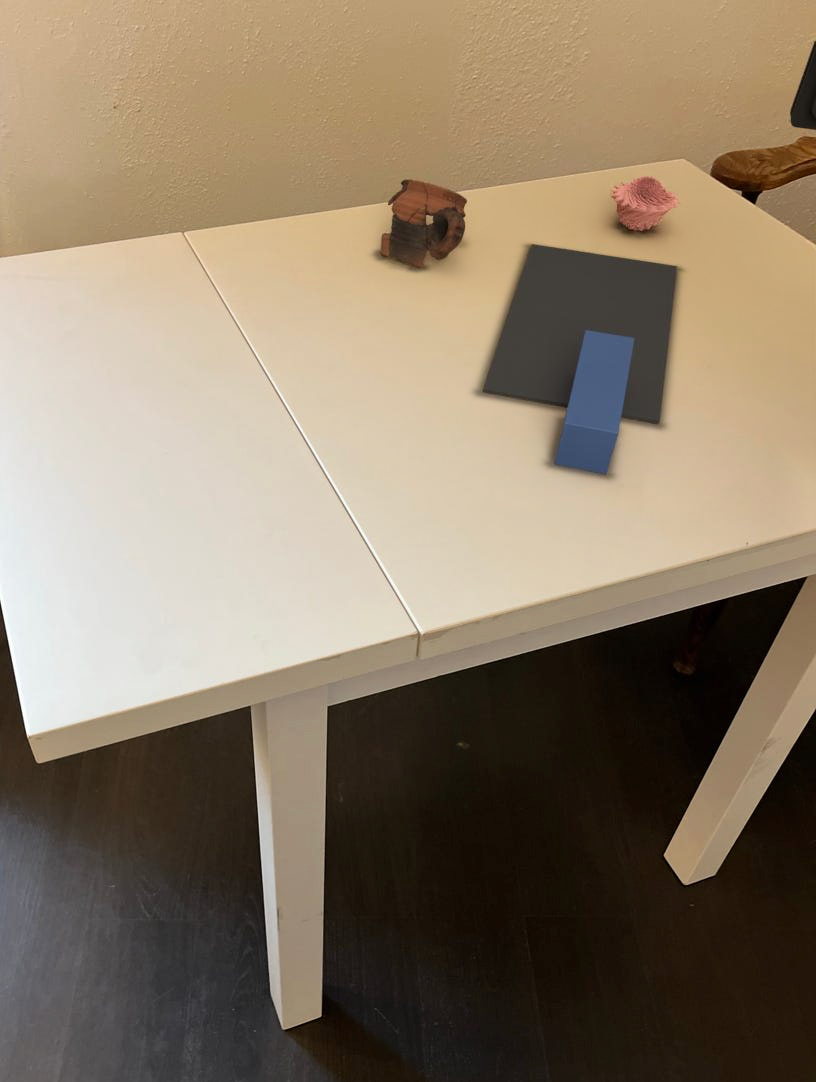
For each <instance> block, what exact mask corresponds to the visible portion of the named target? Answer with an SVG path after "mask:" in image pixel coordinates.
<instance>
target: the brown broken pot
mask: <svg viewBox="0 0 816 1082" xmlns="http://www.w3.org/2000/svg"><path fill="white" fill-rule="evenodd" d="M400 185H401V187H402V188H401V189H400V190H399V191H397V192H396V193H395V194H394V195H392V197H391V198H390V199H389V200H388V202H387V205H388V206H391V205H392V206H391V212H392V214H393V215H392V218H391V226H390V232H389V233H388V232H383V233H382V234H381V238H380V255H382V256H385V257H389V258H392V259H395V261H398V262H401V263H404V264H407V265H411V266H413V267H416V268H420V269H421V268H423V266H424V263H425V259H426V257H427V255H428V252H429V254H430V256H431V258H432V259H434V260H435V261H441V260H443V259H446V258H448V256H449V254H450V253H452V252H453V251H454V250H455V249H456V248H457V247H458V246H459V245H460V243H461V241H462V240H463V238H464V235H465V231H466V221H465V218H466V215H467V214H466V212H465V207H466V205H467V203H468V200H467V198H466V197H464V196H463V195H462V194H460V193H459V192H456V191H453V190H451V189H449V188H446V187H443V186H439V185H437V184H434V183H430V182H424V181H420V180H415V179H414V180H413V179H411V178H410V179H403V180H402V181H401V182H400ZM427 216H429V217H432V223H429V224H427Z"/></svg>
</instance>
